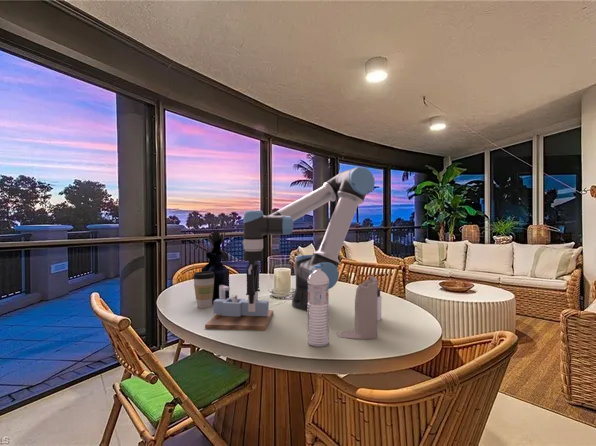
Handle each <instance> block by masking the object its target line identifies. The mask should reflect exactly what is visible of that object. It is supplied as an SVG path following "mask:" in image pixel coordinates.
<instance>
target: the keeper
mask: <svg viewBox="0 0 596 446" xmlns="http://www.w3.org/2000/svg"><path fill="white" fill-rule="evenodd" d="M230 288H231V287H230V286H229V287H228V286H225V285H220V286H219V299H225V291H228V290H229V291H231V289H230Z"/></svg>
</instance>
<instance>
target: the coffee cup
mask: <svg viewBox="0 0 596 446" xmlns="http://www.w3.org/2000/svg"><path fill="white" fill-rule="evenodd" d="M214 278H215V275H214V272H210V271H204V272H202V271H197V272H194V274H193V275H192V279H193V283H194V284H193V286H194V291H195V292H194V294H195V300H196V307H197V308H198V309H205V308H206V309H207V308H210V307H212V305H213V304H212V303H213V302H212V298H213V289H214Z"/></svg>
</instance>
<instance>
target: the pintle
mask: <svg viewBox="0 0 596 446" xmlns="http://www.w3.org/2000/svg"><path fill="white" fill-rule="evenodd" d="M231 298H232V302H233V303H237V298H238V295H237V294H233V295H231ZM232 317H236V316H232Z"/></svg>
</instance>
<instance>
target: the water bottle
mask: <svg viewBox="0 0 596 446" xmlns="http://www.w3.org/2000/svg"><path fill="white" fill-rule="evenodd" d="M315 269H316V270H315V271H313V272H312V273H311V274H310V275H309V277H308V279H307V280H308V281H307V283H308V303H307V305H308V306H307V308H308V309H306V310H307V344H309V346H311V347H316V348H323V347H326V346H328V344H329V340H330V321H329V320H330V303H329V300H330V299H329V289H328V284H329V278H328V276H327V275H326V274H325V273H324V272H323V271H322V270H321V265H315Z"/></svg>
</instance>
